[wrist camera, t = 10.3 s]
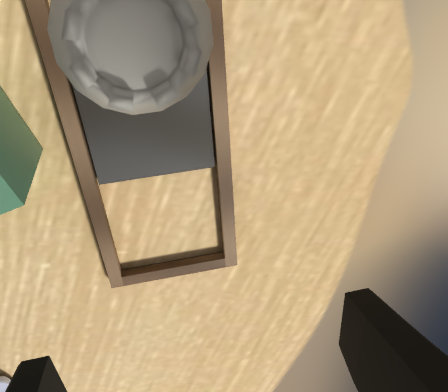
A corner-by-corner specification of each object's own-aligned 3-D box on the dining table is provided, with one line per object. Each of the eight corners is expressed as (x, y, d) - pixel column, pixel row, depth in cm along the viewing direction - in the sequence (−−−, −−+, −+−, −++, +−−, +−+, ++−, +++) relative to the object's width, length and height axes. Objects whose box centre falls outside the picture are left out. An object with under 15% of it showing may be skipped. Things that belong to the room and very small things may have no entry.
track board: (235, 258, 22) (237, 264, 22) (111, 280, 22) (111, 288, 21) (191, -440, 10) (194, -455, 10) (-105, -448, 9) (-115, -465, 9)
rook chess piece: (163, 89, 16) (187, 187, 9) (44, 31, 15) (-32, 101, 8) (219, -27, 15) (297, -9, 8) (93, -107, 13) (51, -172, 6)
